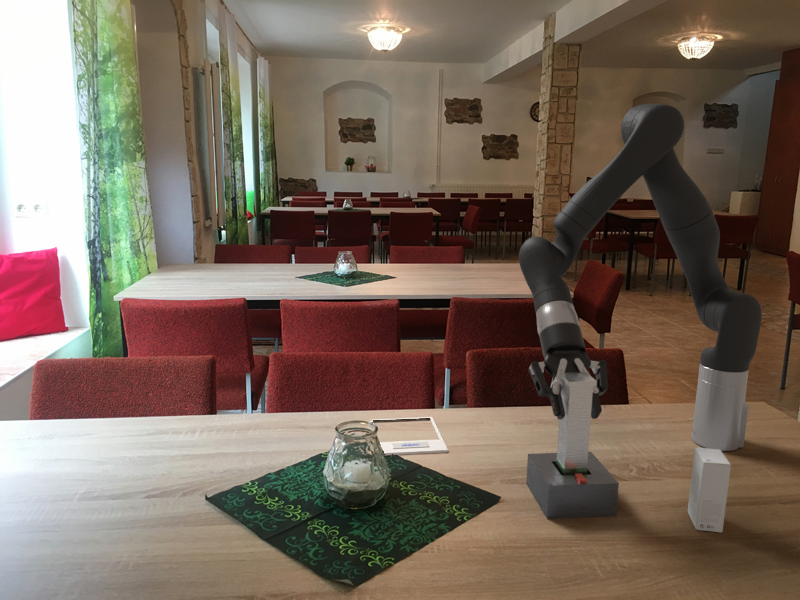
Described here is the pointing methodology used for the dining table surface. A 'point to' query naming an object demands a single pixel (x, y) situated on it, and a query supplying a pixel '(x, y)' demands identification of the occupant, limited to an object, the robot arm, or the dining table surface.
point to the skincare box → (709, 489)
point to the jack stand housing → (571, 488)
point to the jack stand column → (575, 422)
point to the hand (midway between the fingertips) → (578, 417)
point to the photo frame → (414, 443)
